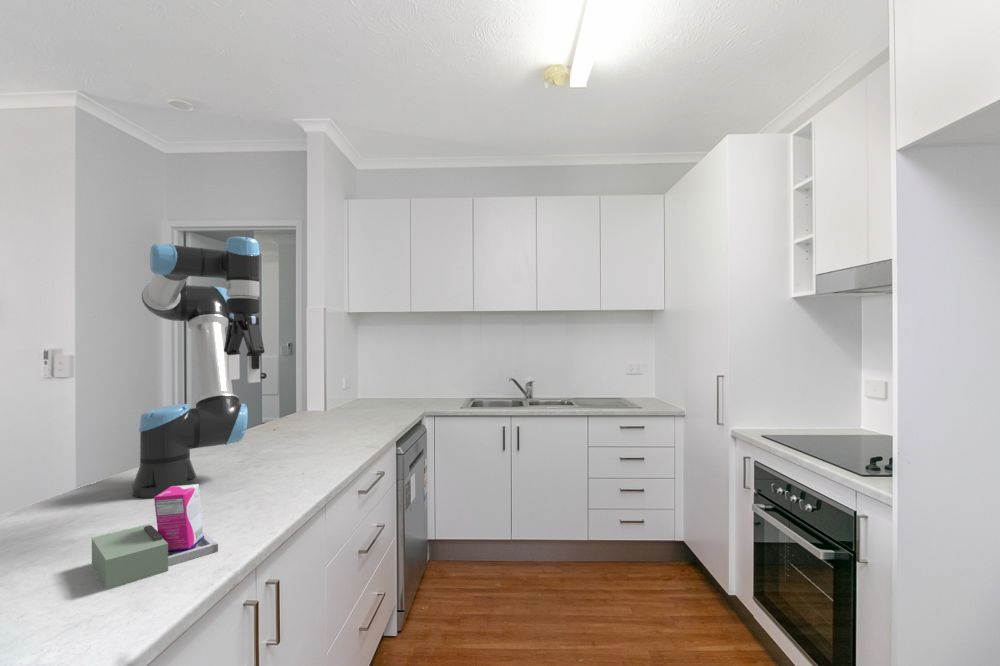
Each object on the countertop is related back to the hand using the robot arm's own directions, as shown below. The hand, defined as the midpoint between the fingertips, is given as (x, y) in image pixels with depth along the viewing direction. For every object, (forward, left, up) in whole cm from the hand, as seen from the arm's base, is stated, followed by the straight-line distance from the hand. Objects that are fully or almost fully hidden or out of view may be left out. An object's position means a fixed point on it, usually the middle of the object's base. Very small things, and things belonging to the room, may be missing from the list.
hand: (243, 381), depth 125 cm
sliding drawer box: (+20, -23, -32) cm, 44 cm away
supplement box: (+20, -19, -31) cm, 41 cm away
